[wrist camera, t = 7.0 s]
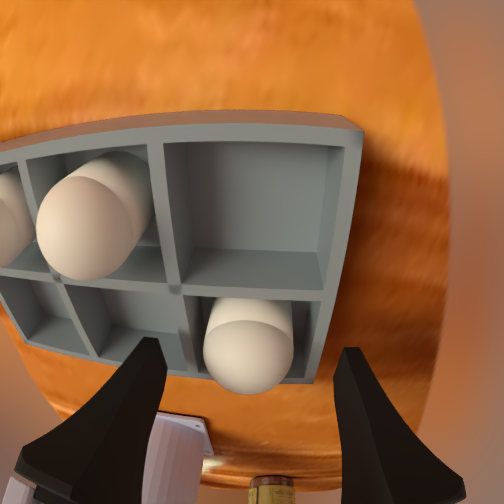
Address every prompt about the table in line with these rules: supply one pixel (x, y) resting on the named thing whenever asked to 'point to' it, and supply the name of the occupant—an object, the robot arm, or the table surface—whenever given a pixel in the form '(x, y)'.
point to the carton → (195, 232)
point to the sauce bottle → (271, 490)
